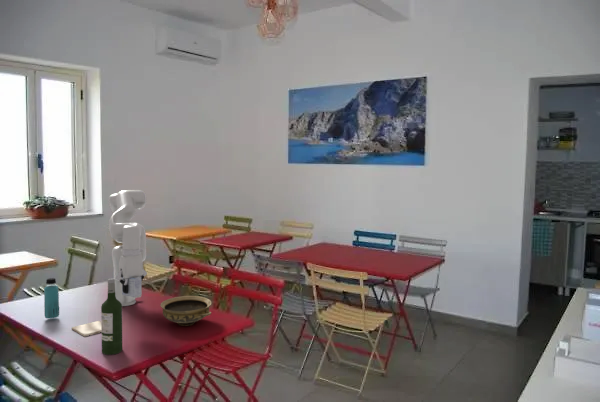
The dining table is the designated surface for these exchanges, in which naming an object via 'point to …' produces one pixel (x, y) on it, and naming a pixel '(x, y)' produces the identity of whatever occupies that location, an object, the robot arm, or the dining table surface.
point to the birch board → (88, 328)
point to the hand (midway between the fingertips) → (131, 291)
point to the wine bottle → (111, 322)
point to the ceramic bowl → (186, 309)
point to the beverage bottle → (51, 299)
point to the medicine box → (133, 287)
